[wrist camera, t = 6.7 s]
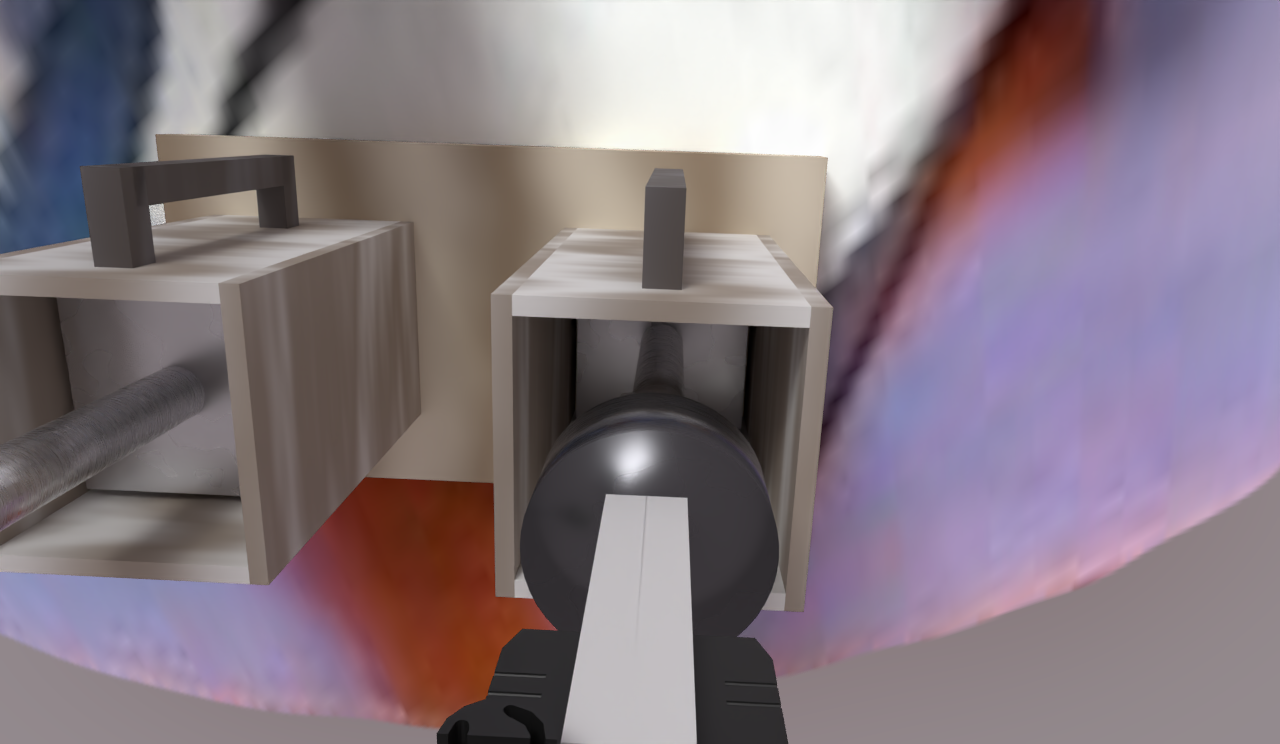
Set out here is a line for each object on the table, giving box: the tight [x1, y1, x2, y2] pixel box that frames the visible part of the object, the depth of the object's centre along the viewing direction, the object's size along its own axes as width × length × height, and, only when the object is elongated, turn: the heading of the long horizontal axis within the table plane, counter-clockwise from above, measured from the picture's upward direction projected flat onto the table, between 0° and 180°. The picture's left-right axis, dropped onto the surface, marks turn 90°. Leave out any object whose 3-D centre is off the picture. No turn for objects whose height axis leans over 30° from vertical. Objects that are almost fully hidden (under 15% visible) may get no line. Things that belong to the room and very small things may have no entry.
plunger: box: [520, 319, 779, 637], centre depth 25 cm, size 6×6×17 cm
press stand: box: [0, 134, 833, 612], centre depth 29 cm, size 26×14×16 cm, turn 88°
